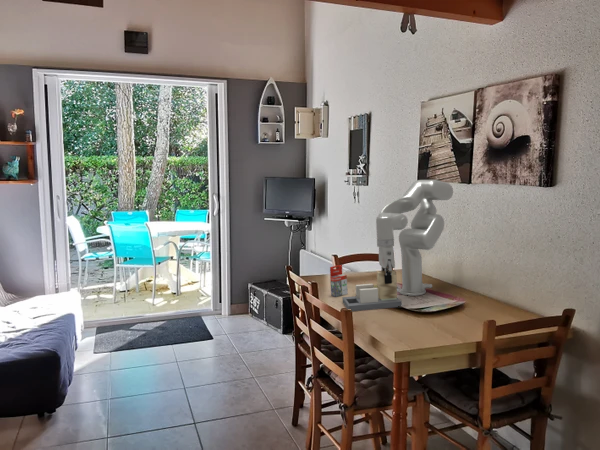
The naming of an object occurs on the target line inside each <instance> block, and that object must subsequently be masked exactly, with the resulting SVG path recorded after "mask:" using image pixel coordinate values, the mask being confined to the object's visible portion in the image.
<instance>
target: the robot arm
mask: <svg viewBox="0 0 600 450" xmlns="http://www.w3.org/2000/svg"><path fill="white" fill-rule="evenodd" d="M453 195H454V189H453V186H452V185H451V184H450V183H449V182H446V181H442V180H438V179H418V180H414V182H413V183H412V184H411V185H410V186H409V187H408V189H407V190H406V192H404V194H403V195H402V196H401V197H399V198H397V199H395V200H393V201H392V202H390V203H388V204H387V205H385V206H384V207H383V209H381V211H379V214H378V216H377V217H376V218H375V220H376V221H375V225H376V247H377V248H378V262H379V263H378V264H379V266H380V269H381V270H380V271H385V275H384V277H385V284H391V283H392V270H393V269H395V268H396V263H395V262H396V261H395V251H394V246H395V242H394V241H395V237H394V231H400V232H399V234H398V243H399V247H400V253H401V279H402V280H401V282H402V287H401V288H399V291H398V292H399V294H400V295H402V296H407V295H408V296H407V297H409V296H411V297H415V296H416V297H418V296H423V295H425V294H426V292H427V291H426V289H432V288H433V284H432V283H423V267H422V266H423V265H422V264H423V260H422V254H421V252H420V250H423V251H424V250H425V251H428V250H431V249H433V248H434V246H435V245H436V243H437V242H438V240H439V238H440V236H441V235H442V233H443V230H444V229H445V219H444V218H443V216H442V215H440V214H437V213H438V212H437V207H436V205H435V203H434V202H433V201H449V200H450V199H451V198H452V197H453ZM419 205H420V207H419V208H418V206H419ZM416 208H418V210H417V212H416V213H415V215H414V216H413V217H412V220H411V222H410V228H406V227H407V226H408V222H409V219H408V217H407V216H406V214H403V213H409V212H411V211H415V210H416Z"/></svg>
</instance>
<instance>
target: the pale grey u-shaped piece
mask: <svg viewBox="0 0 600 450" xmlns="http://www.w3.org/2000/svg"><path fill="white" fill-rule="evenodd" d="M355 296H356V298H360V303H371V302H378V288H377V287H374V283H365V284H363V283H362V284H355Z"/></svg>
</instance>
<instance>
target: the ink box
mask: <svg viewBox="0 0 600 450" xmlns="http://www.w3.org/2000/svg"><path fill="white" fill-rule="evenodd" d="M329 274H330V275H329V278H330V279H329V280H330V295H331V296H332V297H333V298H337V297H342V296H344V295H348V293H349V292H348V275H347V274H344V273H343V264H337V265H333V266H330V267H329Z"/></svg>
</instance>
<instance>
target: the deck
mask: <svg viewBox="0 0 600 450" xmlns="http://www.w3.org/2000/svg"><path fill="white" fill-rule="evenodd" d="M341 297H342V296H341ZM402 303H403V302H402V300H401V299H400V298H399V297H397V298H388V299H379V298H378V302H371V303H360V298H356V295H355V296H343V297H342V304H343V305H344V306H345V308H346V310H348V309H351V310H352V311H351V312H358V311H370V310H378V309H379V310H382V309H391V308H393V309H394V308H399V307H398V306H401V305H402V306H403V304H402Z"/></svg>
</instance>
